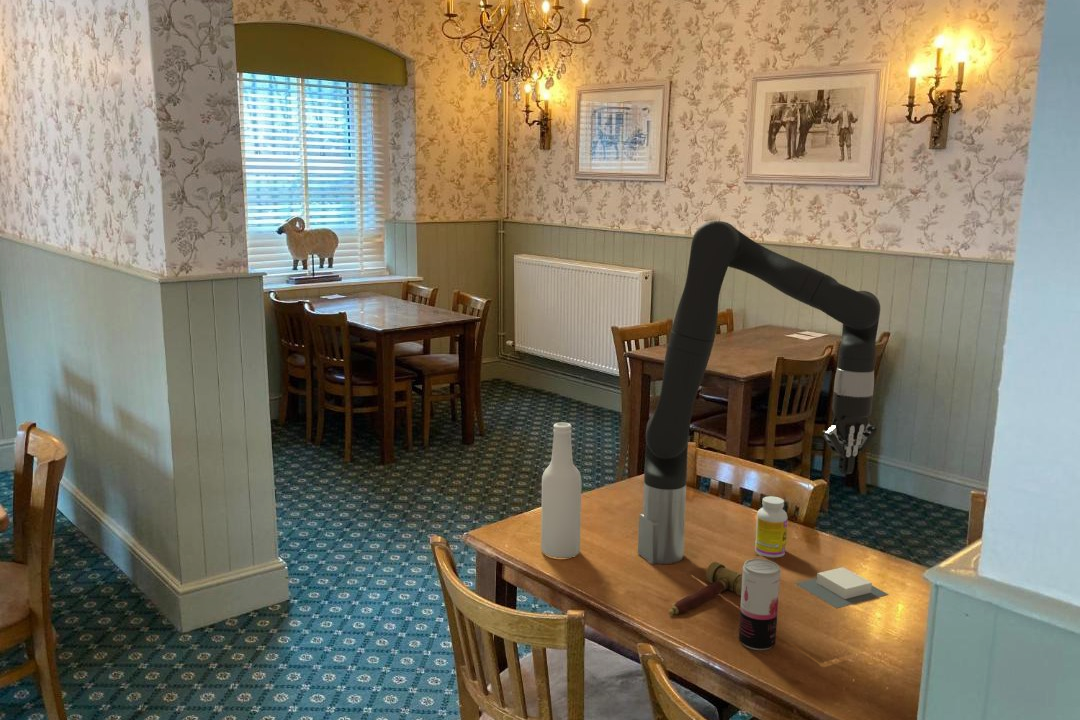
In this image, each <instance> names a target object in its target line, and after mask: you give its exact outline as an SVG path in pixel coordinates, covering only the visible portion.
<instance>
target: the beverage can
mask: <svg viewBox="0 0 1080 720" xmlns="http://www.w3.org/2000/svg"><path fill="white" fill-rule="evenodd" d="M780 568H781V567H780V565H779V564H778V563H777V562H774V561H773V560H770V559H766V558H750V559H748V560H745V561H744V563H743V566H742V591H741V596H740V607H739V608H740V610H739V623H738V625H739V626H738V640H739V642H740V643H741V644H742V645H743V646H744V647H746V648H747V649H751V650H755V651H767V650H770V649H771V648H772V647H774V646H775V645H776V641H777V640H776V637H777V625H778V623H777V622H778V610H779V599H780V598H779V593H780V584H781V583H780V582H781V570H780Z"/></svg>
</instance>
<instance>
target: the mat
mask: <svg viewBox="0 0 1080 720" xmlns="http://www.w3.org/2000/svg"><path fill="white" fill-rule="evenodd" d="M794 584H795V585H797V586H798V587H800V588H802V590H805V591H806V592H809V593H810V594H811V595H814V596H815V597H816V598H818V599H820V600H822V601H823V602H825V603H826V604H829V605H830V606H832V607H834V608H835V609H839V608H840V609H841V608H844V607H846V606H851V605H855V604H858V603H862V602H866V601H871V600H874V599H878V598H881V597H885V596H889V595H890V594H889V593H887V592H885V591H883V590H881V589H880V588H877V586H874V585H872V586H871V593H868V594H864V595H860V596H856V597H852V598H848V599H844V598H842V597H840V596H838V595H837V594H835V593H833V592H831V591H830V590H828V589H826V588H825V587H823V586H821V585H819V584H818V583H817V577H814V578H810V579H807V580H802V581H799V582H798V581H797V582H795V583H794Z"/></svg>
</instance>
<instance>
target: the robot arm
mask: <svg viewBox="0 0 1080 720" xmlns="http://www.w3.org/2000/svg"><path fill="white" fill-rule="evenodd" d="M728 268H731V269H735V270H739V271H742V272H744V273H747V274H749V275H751V276H754V277H756V278H757V279H759V280H761V281H763V282H764V283H766V284H768V285H770V286H771V287H773V288H774V289H776V290H778V291H779V292H781V293H783V294H784V295H787V296H788V297H791V298H792V299H794V300H796V301H798V302H801V303H802V304H805V305H807V306H809V307H812V308H814V309H817V310H819V311H820V312H823V313H825V314H826V315H827V316H829V317H830V318H832V319H833V320H836V321H837V322H839V323H841V324H842V329H841V330H842V332H841V333H842V334H841V340H840V344H839V347H838V355H837V366H836V372H835V376H834V385H833V396H832V405H831V410H832V413H833V419H832V420H831V426H830V427H829V428H828V429H827V430H826V429H823V430H822V431H821V435H822V437H823V439H824V440H825V442H826V444H827V445H828V447H829V449H830V450H831V452H832V453H836V454H838V455H839V457H838V470H839V472H840V473H842V474H844V475H851V474H852V473H853V472H854V469H855V462H856V457H857V455H858V454H859V453H863V452H864V451H865V450H866V448H867V447H868V445H869V444H870V443H871V441H872V439H873V438H874V436H875V435H876V433H877V431H878V428H877V427H875V426H872V425H871V424H870V418H869V417H870V416H871V414H872V410H873V409H872V408H873V398H874V388H875V387H874V386H875V365H876V351H877V349H876V340H877V334H878V328H879V322H880V316H881V304H880V300H879V299H878V297H877V296H876V295H875V294H873V293H872V292H870V291H867V290H855V289H853V288H852V287H849V286H847V285H844V284H842V283H840V282H839V281H837V280H836V279H835V278H834V277H832V276H830V275H828V274H825V272H823V271H820V270H819V269H816V268H813V267H811V266H809V265H807V264H804V263H802V262H799V261H796V260H795V259H792V258H790V257H787V256H785V255H783V254H780V253H777V252H775V251H773V250H771V249H769V248H767V247H766V246H763V245H761V244H759V242H756V241H754V240H753V239H751V238H750V237H748V236H747V235H745V234H744V233H742V232H741V231H740V230H738V229H737V228H736V227H735V226H733V224H730V223H729V222H726V221H723V220H720V221H719V220H714V221H708V222H705V223H703V224H702V225H701V226H699V227H698V228H697V230H695V232H694V235H693V237H692V241H691V244H690V253H689V260H688V267H687V273H686V277H685V278H686V279H685V284H684V288H683V291H682V294H681V297H680V300H679V302H678V306H677V309H676V312H675V316H674V319H673V323H672V326H671V330H670V334H669V338H668V341H667V345H666V350H665V351H666V352H665V357H664V363H663V371H662V380H661V381H662V383H661V387H660V388H661V389H660V390H661V391H660V393H659V396H658V397H659V398H658V400H657V404H656V407H655V410H654V412H653V414H652V415H651V416H650V417H649V418H648V421H647V424H646V429H645V454H644V455H645V457H644V475H643V476H644V478H643V481H644V482H643V501H642V504H643V505H642V506H643V507H642V508H643V509H642V513H639V515H638V534H637V535H638V537H637V540H638V541H637V542H638V543H637V554H638V555H639V556H640V555H641V558H643V559H644V560H646V561H647V562H649V563H650V564H652V565H654V564H655V565H656V564H662V565H663V564H664V565H668V564H675V563H678V562H681V561H682V560H683V558H684V540H685V520H686V519H685V517H686V495H687V480H688V479H687V476H688V449H689V445H688V444H689V438H690V435H689V433H690V427H691V419H692V415H693V410H694V405H695V401H696V398H697V394H698V392H699V389H700V387H701V384H702V381H703V378H704V375H705V373H706V369H707V367H708V363H709V360H710V357H711V354H712V351H713V346H714V342H715V339H716V334H717V329H718V316H719V299H720V294H721V289H722V285H723V282H724V279H725V277H726V274H727V270H728Z"/></svg>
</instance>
